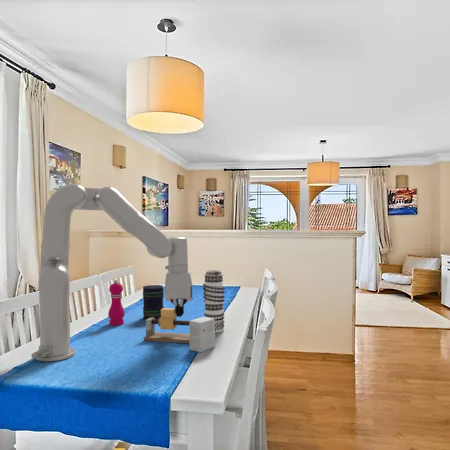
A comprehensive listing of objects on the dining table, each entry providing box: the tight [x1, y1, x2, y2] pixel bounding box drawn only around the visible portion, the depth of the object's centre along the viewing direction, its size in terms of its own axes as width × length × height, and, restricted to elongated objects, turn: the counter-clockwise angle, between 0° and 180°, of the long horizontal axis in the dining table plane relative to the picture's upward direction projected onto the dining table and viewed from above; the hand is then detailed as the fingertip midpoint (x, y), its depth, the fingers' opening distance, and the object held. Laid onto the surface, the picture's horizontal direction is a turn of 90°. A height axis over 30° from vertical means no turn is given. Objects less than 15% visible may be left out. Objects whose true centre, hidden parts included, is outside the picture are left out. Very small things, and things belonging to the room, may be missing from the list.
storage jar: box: [142, 284, 165, 321], centre depth 192 cm, size 10×10×15 cm
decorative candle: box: [202, 269, 226, 333], centre depth 169 cm, size 9×9×25 cm
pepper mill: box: [107, 279, 126, 327], centre depth 181 cm, size 7×7×20 cm
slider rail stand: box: [143, 318, 190, 344], centre depth 156 cm, size 8×22×8 cm, turn 78°
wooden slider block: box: [159, 307, 178, 331], centre depth 157 cm, size 4×5×7 cm
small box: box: [188, 316, 216, 353], centre depth 145 cm, size 8×6×10 cm
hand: (179, 315), depth 156 cm, fingers closed
